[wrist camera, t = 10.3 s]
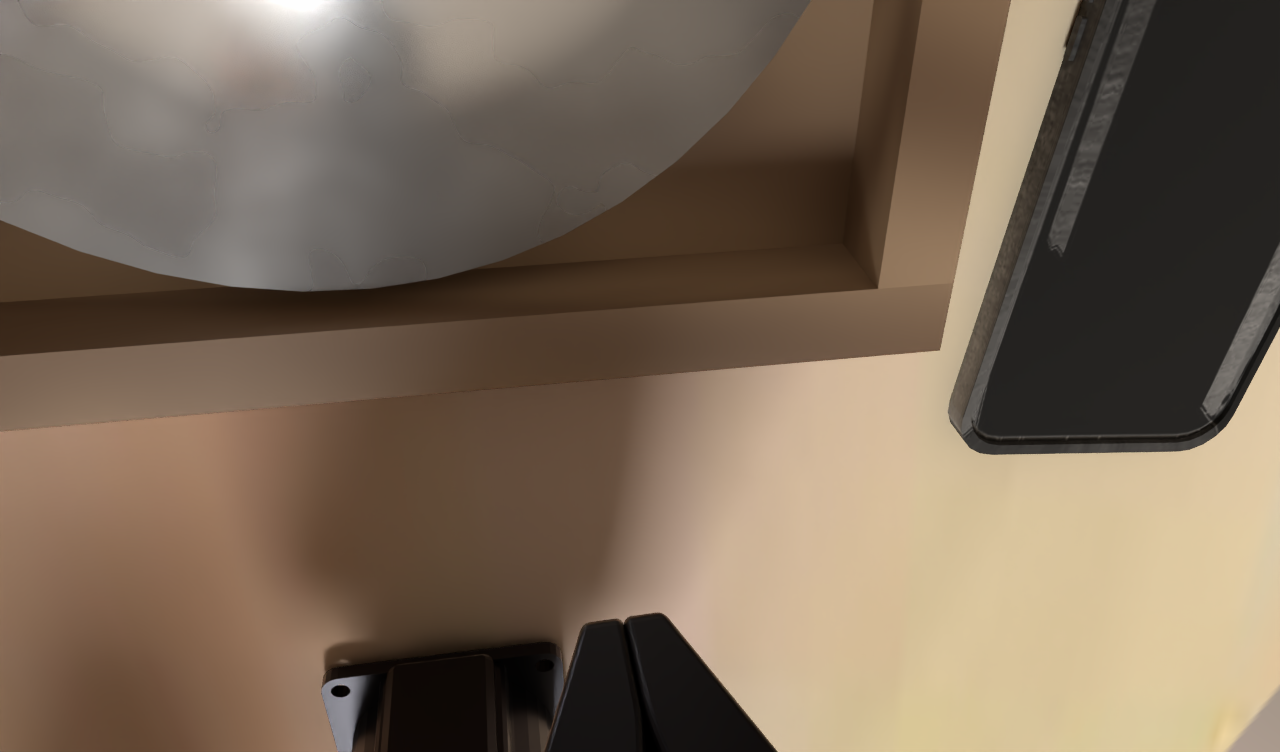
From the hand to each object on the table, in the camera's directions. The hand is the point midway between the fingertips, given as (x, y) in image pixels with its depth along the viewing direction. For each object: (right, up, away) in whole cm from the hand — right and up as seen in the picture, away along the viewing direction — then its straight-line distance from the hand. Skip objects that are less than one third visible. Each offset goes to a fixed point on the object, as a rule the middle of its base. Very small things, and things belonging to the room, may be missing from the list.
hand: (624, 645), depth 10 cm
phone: (+12, +8, +12) cm, 19 cm away
